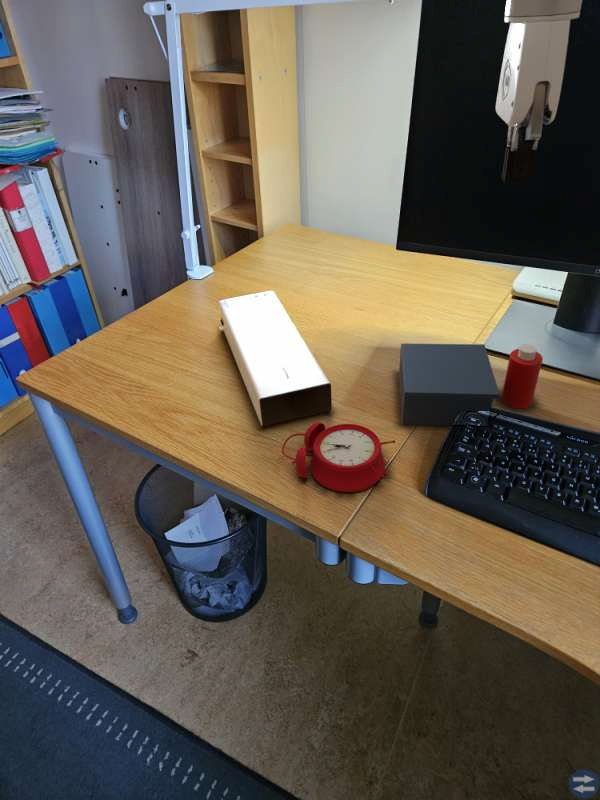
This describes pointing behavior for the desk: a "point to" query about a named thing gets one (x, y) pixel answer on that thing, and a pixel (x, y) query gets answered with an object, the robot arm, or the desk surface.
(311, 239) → the desk surface
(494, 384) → the bin lid
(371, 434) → the alarm clock
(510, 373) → the ketchup bottle
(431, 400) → the bin
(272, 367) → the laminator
